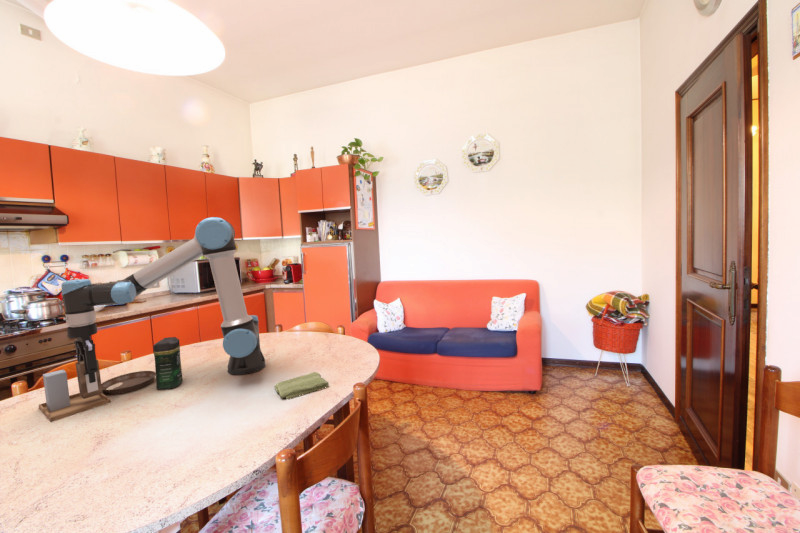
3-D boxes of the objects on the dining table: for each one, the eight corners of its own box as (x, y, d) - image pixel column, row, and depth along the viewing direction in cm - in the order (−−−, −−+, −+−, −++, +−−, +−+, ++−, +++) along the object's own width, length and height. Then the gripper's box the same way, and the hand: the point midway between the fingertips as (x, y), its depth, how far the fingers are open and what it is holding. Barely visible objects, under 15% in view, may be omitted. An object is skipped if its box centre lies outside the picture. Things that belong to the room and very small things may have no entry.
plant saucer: (87, 399, 125) (86, 391, 125) (119, 379, 143) (118, 372, 143) (140, 394, 128) (139, 386, 128) (165, 375, 145) (164, 368, 145)
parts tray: (110, 403, 121) (110, 399, 121) (51, 422, 109) (50, 418, 109) (95, 392, 131) (95, 388, 131) (39, 408, 119) (38, 404, 118)
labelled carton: (102, 393, 122) (98, 359, 121) (83, 399, 118) (79, 364, 117) (98, 390, 125) (94, 357, 123) (80, 396, 120) (75, 362, 119)
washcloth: (272, 389, 129) (272, 381, 129) (318, 377, 139) (317, 369, 138) (281, 402, 118) (281, 393, 118) (330, 389, 128) (330, 380, 127)
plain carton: (70, 405, 120) (66, 371, 119) (50, 411, 116) (45, 377, 115) (66, 402, 122) (62, 369, 121) (47, 408, 118) (42, 374, 117)
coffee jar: (178, 388, 131) (173, 341, 130) (153, 392, 129) (149, 343, 127) (185, 379, 141) (181, 334, 139) (163, 382, 138) (158, 336, 137)
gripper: (60, 324, 121) (69, 388, 123) (74, 330, 111) (84, 399, 113) (88, 319, 127) (96, 380, 129) (103, 324, 117) (112, 390, 119)
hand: (90, 389), depth 121 cm, fingers closed on labelled carton, 4 cm apart
